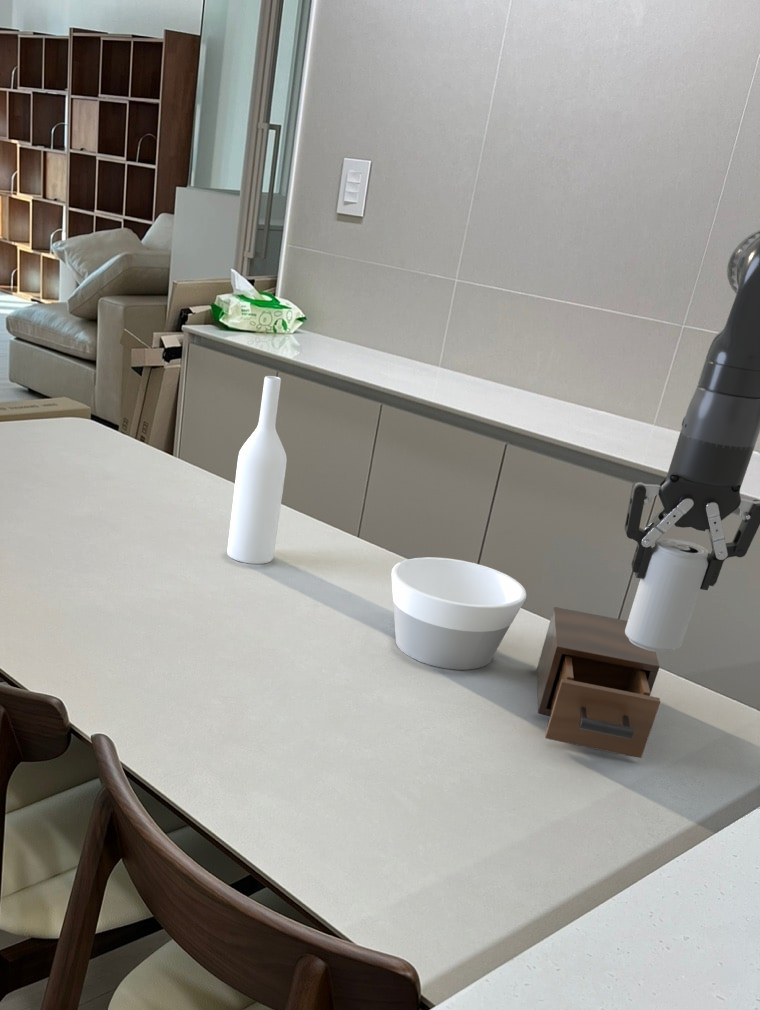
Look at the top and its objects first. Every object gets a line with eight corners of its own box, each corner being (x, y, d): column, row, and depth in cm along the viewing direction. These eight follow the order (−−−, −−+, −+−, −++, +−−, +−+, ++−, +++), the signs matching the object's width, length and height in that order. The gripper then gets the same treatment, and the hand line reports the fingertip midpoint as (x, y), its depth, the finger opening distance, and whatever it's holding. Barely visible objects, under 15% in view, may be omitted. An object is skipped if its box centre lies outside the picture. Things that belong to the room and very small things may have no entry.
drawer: (644, 777, 126) (665, 719, 122) (546, 756, 128) (562, 698, 124) (631, 711, 142) (649, 657, 138) (543, 693, 144) (558, 640, 140)
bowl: (474, 691, 144) (492, 619, 139) (354, 645, 154) (367, 575, 149) (529, 652, 158) (547, 585, 153) (416, 612, 168) (429, 547, 163)
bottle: (247, 567, 178) (270, 384, 164) (217, 551, 183) (237, 372, 169) (282, 560, 183) (308, 382, 168) (252, 545, 188) (274, 371, 174)
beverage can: (664, 659, 120) (697, 559, 114) (612, 639, 124) (642, 541, 118) (689, 647, 124) (722, 549, 118) (638, 628, 128) (668, 532, 122)
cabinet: (637, 733, 138) (660, 666, 134) (537, 713, 140) (556, 646, 136) (627, 687, 151) (648, 624, 146) (536, 669, 153) (554, 606, 149)
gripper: (652, 431, 110) (608, 581, 118) (798, 453, 108) (743, 605, 116) (644, 417, 117) (603, 560, 124) (781, 438, 114) (730, 582, 122)
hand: (670, 581), depth 120 cm, fingers closed on beverage can, 6 cm apart
